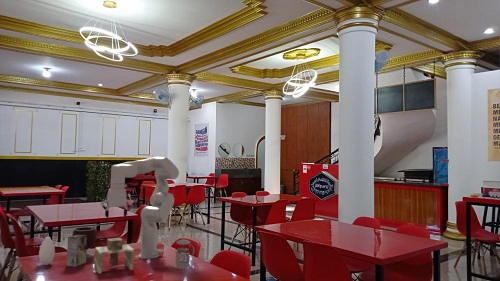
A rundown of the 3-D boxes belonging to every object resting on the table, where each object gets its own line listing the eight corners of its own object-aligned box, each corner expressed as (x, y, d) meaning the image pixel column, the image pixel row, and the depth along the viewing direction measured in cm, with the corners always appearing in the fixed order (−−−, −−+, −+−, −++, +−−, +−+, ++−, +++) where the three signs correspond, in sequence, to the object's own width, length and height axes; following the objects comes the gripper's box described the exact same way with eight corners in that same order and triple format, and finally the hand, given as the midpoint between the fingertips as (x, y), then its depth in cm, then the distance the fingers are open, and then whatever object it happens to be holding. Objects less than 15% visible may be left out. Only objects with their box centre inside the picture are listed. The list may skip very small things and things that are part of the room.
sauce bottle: (56, 264, 217) (58, 232, 218) (41, 267, 211) (43, 234, 213) (51, 262, 222) (52, 231, 224) (36, 264, 217) (38, 232, 218)
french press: (172, 264, 224) (173, 221, 226) (191, 263, 229) (192, 221, 230) (175, 269, 215) (177, 224, 217) (195, 267, 220) (197, 223, 221)
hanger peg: (118, 262, 218) (120, 237, 219) (121, 265, 212) (122, 240, 213) (106, 263, 214) (107, 238, 215) (108, 266, 208) (109, 241, 209)
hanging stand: (126, 263, 224) (127, 244, 224) (132, 269, 212) (133, 249, 212) (94, 267, 214) (95, 247, 215) (98, 273, 202) (99, 252, 203)
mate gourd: (68, 259, 230) (70, 225, 231) (73, 254, 243) (75, 222, 245) (96, 258, 234) (97, 225, 235) (99, 253, 247) (101, 222, 248)
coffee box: (76, 261, 225) (78, 234, 226) (86, 262, 223) (87, 235, 224) (66, 265, 216) (67, 237, 217) (76, 266, 214) (77, 237, 215)
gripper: (131, 186, 224) (129, 215, 223) (100, 186, 215) (98, 216, 214) (134, 186, 218) (133, 217, 217) (102, 187, 209) (101, 218, 208)
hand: (116, 216), depth 216 cm, fingers open, 9 cm apart
